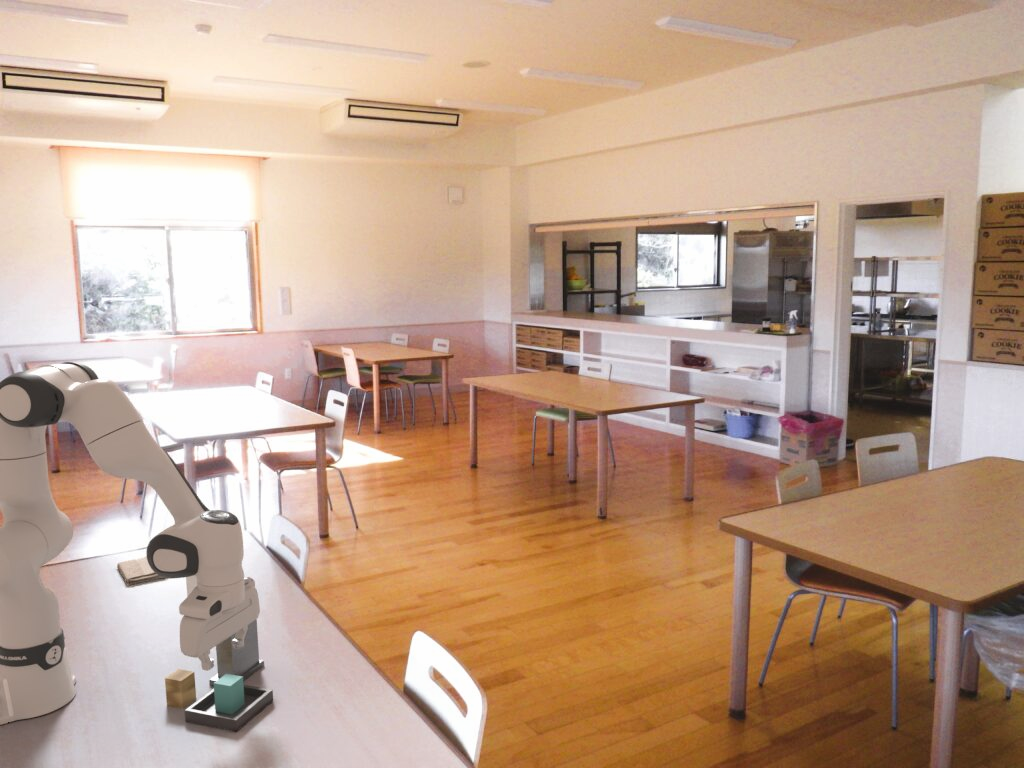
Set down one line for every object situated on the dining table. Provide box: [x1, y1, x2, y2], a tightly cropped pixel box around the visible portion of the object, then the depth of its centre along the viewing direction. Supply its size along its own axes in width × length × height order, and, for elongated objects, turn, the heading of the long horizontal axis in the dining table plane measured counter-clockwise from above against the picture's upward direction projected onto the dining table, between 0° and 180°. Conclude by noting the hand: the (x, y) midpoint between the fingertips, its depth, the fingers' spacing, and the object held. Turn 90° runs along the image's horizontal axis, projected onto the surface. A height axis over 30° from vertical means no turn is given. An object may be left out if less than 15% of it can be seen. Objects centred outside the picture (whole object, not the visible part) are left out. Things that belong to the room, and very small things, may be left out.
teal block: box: [213, 674, 245, 714], centre depth 166 cm, size 4×4×6 cm
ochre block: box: [164, 668, 197, 709], centre depth 170 cm, size 4×4×6 cm
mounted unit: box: [208, 618, 265, 687], centre depth 181 cm, size 6×11×14 cm, turn 161°
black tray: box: [184, 683, 274, 733], centre depth 167 cm, size 12×12×2 cm
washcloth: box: [116, 555, 165, 587], centre depth 243 cm, size 12×18×3 cm, turn 35°
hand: (223, 657), depth 165 cm, fingers open, 8 cm apart
